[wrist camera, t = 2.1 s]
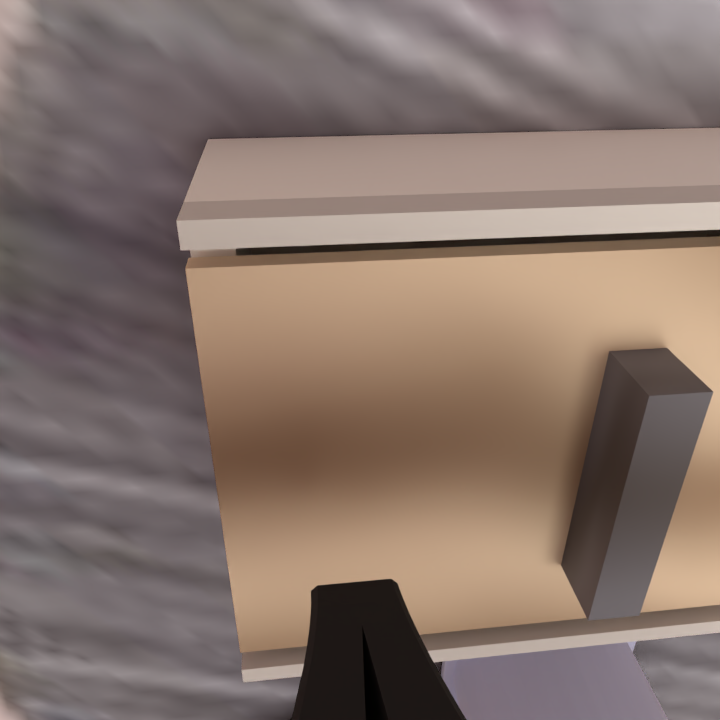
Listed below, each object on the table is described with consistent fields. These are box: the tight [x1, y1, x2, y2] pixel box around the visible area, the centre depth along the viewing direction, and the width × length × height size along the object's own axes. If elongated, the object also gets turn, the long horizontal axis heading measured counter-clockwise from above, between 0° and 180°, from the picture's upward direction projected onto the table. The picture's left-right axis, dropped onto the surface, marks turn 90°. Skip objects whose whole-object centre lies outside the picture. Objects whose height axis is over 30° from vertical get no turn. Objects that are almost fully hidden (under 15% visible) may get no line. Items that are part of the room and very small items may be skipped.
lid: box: [185, 236, 720, 653], centre depth 14 cm, size 10×14×2 cm
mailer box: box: [176, 128, 720, 682], centre depth 17 cm, size 12×14×6 cm
